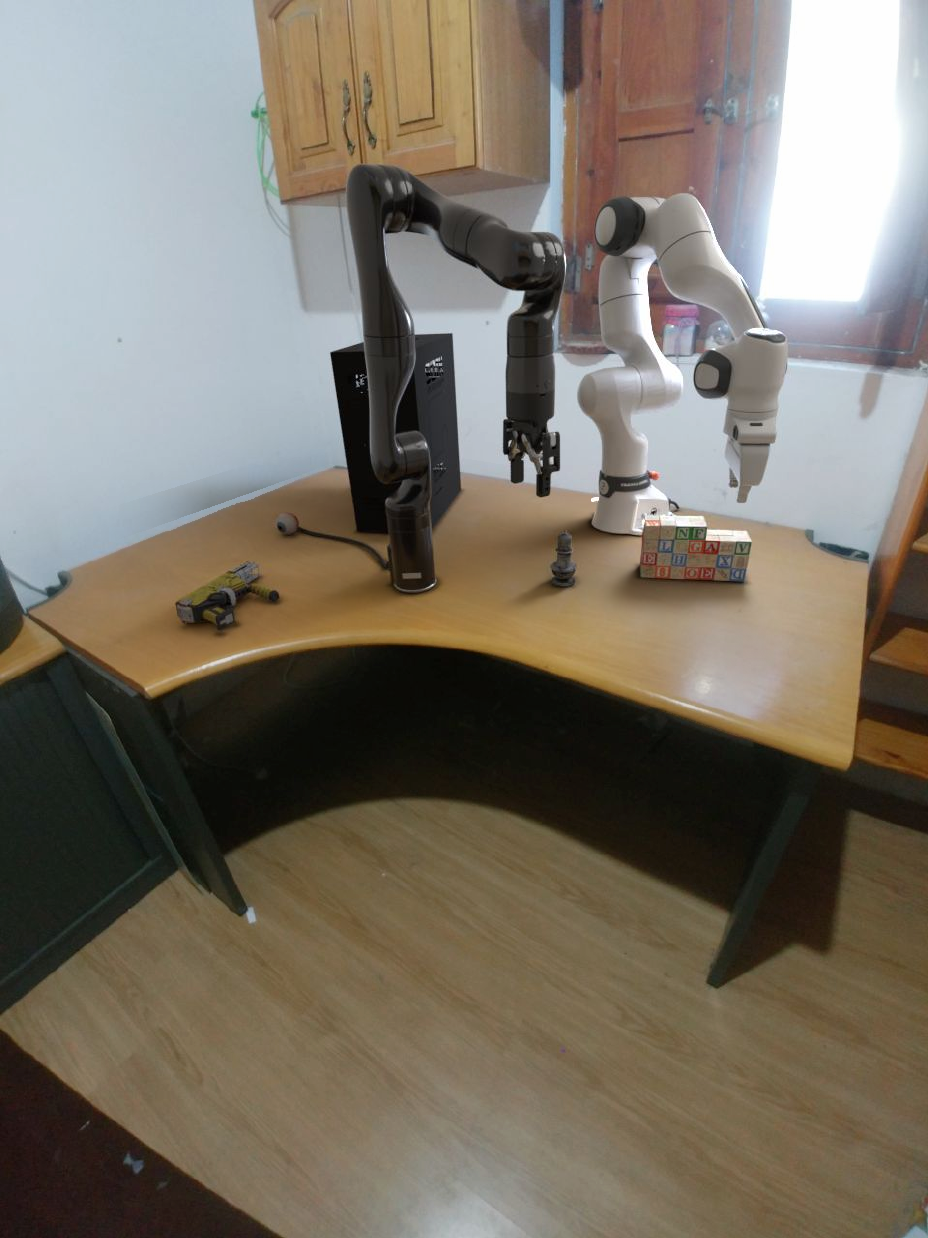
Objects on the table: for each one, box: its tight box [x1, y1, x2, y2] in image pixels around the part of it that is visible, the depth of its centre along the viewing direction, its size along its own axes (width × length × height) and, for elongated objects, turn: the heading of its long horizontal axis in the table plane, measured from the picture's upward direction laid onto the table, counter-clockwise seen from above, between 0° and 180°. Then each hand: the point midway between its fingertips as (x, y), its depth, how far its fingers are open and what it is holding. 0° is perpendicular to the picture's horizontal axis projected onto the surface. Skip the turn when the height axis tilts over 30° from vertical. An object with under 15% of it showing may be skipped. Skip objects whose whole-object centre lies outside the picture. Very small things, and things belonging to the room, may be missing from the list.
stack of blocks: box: [639, 515, 753, 582], centre depth 129 cm, size 21×6×12 cm, turn 77°
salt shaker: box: [549, 529, 578, 587], centre depth 129 cm, size 6×6×12 cm
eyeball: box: [275, 511, 300, 536], centre depth 163 cm, size 6×6×6 cm
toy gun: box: [174, 560, 280, 631], centre depth 130 cm, size 5×24×15 cm
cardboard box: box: [329, 332, 462, 534], centre depth 166 cm, size 38×20×45 cm, turn 167°
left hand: (529, 489), depth 100 cm, fingers open, 8 cm apart
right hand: (736, 493), depth 122 cm, fingers open, 8 cm apart
